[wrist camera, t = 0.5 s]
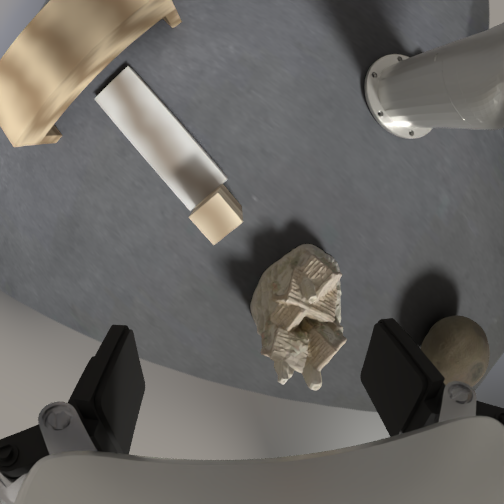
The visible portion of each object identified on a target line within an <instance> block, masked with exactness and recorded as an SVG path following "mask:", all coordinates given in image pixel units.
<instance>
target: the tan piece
mask: <svg viewBox="0 0 504 504" xmlns="http://www.w3.org/2000/svg"><path fill="white" fill-rule="evenodd" d="M95 100H96V102H97V103H98V104H99V105H100V106H101V108H102V109H103V110H104V111H105V112H106V113H107V115H108V116H109V117H110V118H111V119H112V121H113V122H114V123H115V124H116V125H117V127H118V128H119V129H120V130H121V131H122V132H123V134H124V135H125V136H126V137H127V138H128V140H129V141H130V142H131V143H132V144H133V145H134V147H135V148H136V149H137V150H138V151H139V152H140V154H141V155H142V156H143V157H144V158H145V159H146V161H147V162H148V163H149V164H150V165H151V166H152V168H153V169H154V170H155V171H156V172H157V173H158V175H159V176H160V177H161V178H162V179H163V180H164V181H165V183H166V184H167V185H168V186H169V187H170V188H171V190H172V191H173V192H174V193H175V194H176V195H177V196H178V198H179V199H180V200H181V201H182V202H183V203H184V204H185V206H186V207H187V208H188V209H189V210H190V211H191V210H192V209H193V208H194V207H195V206H196V207H195V208H194V210H193V211H192V213H191V215H190V216H189V218H190V219H191V220H192V222H193V223H194V224H195V225H196V226H197V227H198V228H199V229H200V231H201V232H202V233H203V234H204V235H205V236H206V237H207V238H208V240H209V241H210V242H211V243H212V244H213V245H215V244H216V243H217V242H219V241H220V240H221V239H222V238H224V237H225V236H226V235H227V234H229V233H230V232H231V231H232V230H234V229H235V228H236V227H237V226H239V225H240V224H241V223H242V222H243V216H242V206H241V205H240V204H239V203H238V201H237V200H236V199H235V198H234V197H233V195H232V194H231V193H230V192H229V191H228V190H227V188H226V187H225V186H224V185H223V183H224V182H225V181H226V180H228V177H227V176H226V175H225V174H224V173H223V171H222V170H221V169H220V168H219V167H218V166H217V164H216V163H215V162H214V161H213V160H212V158H211V157H210V156H209V155H208V154H207V153H206V151H205V150H204V149H203V148H202V147H201V146H200V144H199V143H198V142H197V141H196V140H195V139H194V138H193V136H192V135H191V134H190V133H189V132H188V131H187V129H186V128H185V127H184V126H183V125H182V124H181V123H180V121H179V120H178V119H177V118H176V117H175V116H174V115H173V113H172V112H171V111H170V110H169V109H168V108H167V107H166V106H165V104H164V103H163V102H162V101H161V100H160V99H159V98H158V97H157V95H156V94H155V93H154V92H153V91H152V90H151V89H150V88H149V87H148V85H147V84H146V83H145V82H144V81H143V80H142V79H141V78H140V77H139V75H138V74H137V73H136V72H135V71H134V70H133V69H132V68H130V67H129V66H127V67H126V68H125V69H124V70H123V71H122V72H121V73H120V74H119V75H118V76H117V77H116V78H114V79H113V80H112V81H111V82H110V83H109V84H108V85H107V86H106V87H105V88H104V89H103V90H102V91H101V92H100V94H99V95H98V96H97V97H96V98H95Z"/></svg>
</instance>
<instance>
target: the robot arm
mask: <svg viewBox="0 0 504 504" xmlns="http://www.w3.org/2000/svg"><path fill="white" fill-rule="evenodd" d="M372 75H373V77H372ZM364 89H365V97H366V101H367V104H368V107H369V109H370V111H371V113H372V115H373V116H374V118H375V119H376V121H377V122H378V123H379V124H380V125H381V126H382V127H383V128H384V129H385V130H386V131H388V132H389V133H391V134H393V135H395V136H398V137H400V138H407V139H414V138H420V137H422V136H424V135H426V134H427V133H429V132H430V131H431V130H432V128H460V129H480V130H498V129H502V128H504V23H502V24H500V25H497V26H495V27H493V28H491V29H488V30H486V31H483V32H481V33H478V34H475V35H472V36H469V37H467V38H463V39H460V40H457V41H454V42H452V43H449V44H446V45H443V46H440V47H437V48H434V49H432V50H429V51H426V52H423V53H421V54H418V55H415V56H413V57H408V56H404V55H401V54H390V55H386V56H383V57H381V58H379V59H378V60H376V61H375V62H374V63H373V64H372V65H371V66H370V68H369V70H368V71H367V74H366V78H365V85H364ZM378 113H379V115H378ZM444 380H445V378H444V377H443V375H442V374H441V373H440V372H439V371H438V369H437V368H436V367H435V366H434V364H433V363H432V362H431V361H430V360H429V359H428V357H427V356H426V355H425V354H424V353H423V351H422V350H421V349H420V348H419V347H418V346H417V344H416V343H415V342H414V341H413V340H412V339H411V338H410V336H409V335H408V334H407V333H406V332H405V331H404V330H403V328H402V327H401V326H400V325H399V324H398V323H397V322H396V321H395V320H394V319H393V318H390V319H381V320H379V321H378V323H377V324H375V326H374V329H373V333H372V337H371V340H370V344H369V348H368V351H367V355H366V358H365V361H364V365H363V368H362V371H361V381H362V383H363V385H364V387H365V389H366V391H367V393H368V395H369V397H370V398H371V400H372V402H373V404H374V406H375V408H376V410H377V412H378V414H379V415H380V417H381V419H382V421H383V423H384V425H385V427H386V429H387V431H388V432H389V435H390V437H389V438H385V439H381V440H378V441H373V442H369V443H365V444H361V445H356V446H351V447H346V448H341V449H336V450H331V451H324V452H318V453H311V454H304V455H296V456H287V457H277V458H265V459H248V460H187V459H169V458H157V457H145V456H137V455H129V451H130V446H131V442H132V438H133V434H134V430H135V425H136V421H137V418H138V414H139V410H140V406H141V402H142V398H143V394H144V391H145V381H144V377H143V373H142V369H141V365H140V361H139V356H138V352H137V347H136V343H135V338H134V333H133V331H132V330H129V328H128V326H126V325H112V326H111V328H110V330H109V331H108V333H107V335H106V337H105V339H104V340H103V342H102V344H101V346H100V348H99V350H98V351H97V353H96V355H95V356H94V357H92V358H91V359H90V361H89V363H88V364H87V366H86V368H85V370H84V372H83V374H82V376H81V378H80V379H79V381H78V383H77V385H76V387H75V389H74V391H73V393H72V395H71V397H70V399H69V401H68V403H65V402H54V403H51V404H48V405H46V406H45V407H44V408H43V409H42V410H41V412H40V413H39V417H38V423H39V424H38V425H36V426H34V427H31V428H29V429H26V430H24V431H21V432H19V433H16V434H14V435H11V436H8V437H6V438H3V439H1V440H0V504H504V408H500V407H497V406H493V405H489V404H486V403H483V402H479V401H476V393H475V391H474V389H473V388H472V387H471V386H470V385H468V384H466V383H464V382H461V381H452V382H450V383H448V384H447V385H445V384H444V383H443V382H444Z"/></svg>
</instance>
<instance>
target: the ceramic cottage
mask: <svg viewBox="0 0 504 504" xmlns="http://www.w3.org/2000/svg"><path fill="white" fill-rule="evenodd" d="M341 276H342V274H341V273H340V269H339V266H338V263H337V262H336V261H335V259H334V258H333V257H332V256H330V255H328V254H325V253H324V251H323V250H321V249H319V248H318V247H316V246H314V245H312V244H302V245H301V246H298V247H296V249H293V250H292V251H291V252H289V253H288V254H286V255H285V256H283V257H282V258H281V259H280V260H278V261H277V262H275V263H274V264H273V265H271V266H270V267H269V268H268V269H267V270H266V271H265V272H264V273H263V274H262V276H261V278H260V280H259V283H258V285H257V287H256V290H255V291H254V294H253V297H252V302H251V306H250V308H251V314H252V317H253V319H254V321H255V323H256V325H257V333H258V334H259V335H261V337H262V346H263V347H262V349H261V354H262V355H265V356H269V357H270V359H271V360H274V368H275V371H276V372H277V374H278V382H279V383H281V384H283V385H284V384H285V383H286V382H287V380H288V379H289V378H291V377H292V375H293V372H294V370H295V371H297V372H300V373H302V374H303V377H304V379H305V382H306V384H307V386H308V387H309V388H310V389H312V390H318V389H319V388H320V387H321V385H322V377H321V373H320V371H321V369H322V368H323V367H324V366H325V365H326V364H327V363H329V361H330V359H331V358H332V357H333V356H334V355H335V354H336V352H337V351H338V350H339V349H340V348H341V347H342V345H343V344H345V342H346V340H347V339H346V338H345V337H344V336H343V333H342V332H343V327H342V326H340V321H341V305H340V295H341V289H340V278H341Z"/></svg>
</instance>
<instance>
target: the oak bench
mask: <svg viewBox="0 0 504 504" xmlns="http://www.w3.org/2000/svg"><path fill="white" fill-rule="evenodd" d="M161 19H163V20H164V21H166V22H167V23H168V24H169V25H170V26H171V27H172V28H174V27H175V26H177V25H178V24H180V23H181V22H182V21H181V19H180V17H179V15H178V13H177V10H176V8H175V6H174V4H173V2H172V0H50V1H49V2H48V3H47V4H46V5H45V6H44V7H43V9H42V10H41V11H40V12H39V13H38V14H37V15H36V16H35V17H34V18H33V20H32V21H31V22H30V23H29V24H28V25H27V26H26V27H25V29H24V30H23V31H22V32H21V33H20V35H19V36H18V37H17V38H16V40H15V41H14V42H13V44H12V45H11V46H10V47H9V49H8V50H7V51H6V53H5V54H4V56H3V57H2V58H1V60H0V126H1V128H2V129H3V131H4V133H5V134H6V136H7V137H8V139H9V140H10V142H11V144H12V145H13V147H19V146H28V145H38V144H49V143H57V141H58V140H59V139H60V138H61V136H62V134H61V133H60V132H59V130H58V129H57V128H56V126H55V125H54V124H55V122H56V121H57V120H58V119H59V117H60V116H61V115H62V114H63V113H64V111H65V110H66V109H67V108H68V107H69V105H70V104H71V103H72V102H73V101H74V100H75V98H76V97H77V96H78V95H79V94H80V93H81V92H82V91H83V90H84V88H85V87H86V86H87V85H88V84H89V83H90V82H91V81H92V80H93V79H94V78H95V77H96V76H97V75H98V74H99V73H100V72H101V71H102V70H103V69H104V68H105V67H106V66H107V65H108V64H109V63H110V62H111V61H112V60H113V59H114V58H115V57H117V56H118V55H119V54H120V53H121V52H122V51H123V50H124V49H125V48H126V47H128V46H129V45H130V44H131V43H132V42H133V41H135V40H136V39H137V38H138V37H139V36H141V35H142V34H143V33H144V32H145V31H147V30H148V29H149V28H150V27H152V26H153V25H154V24H156V23H157V22H158V21H160V20H161Z"/></svg>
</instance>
